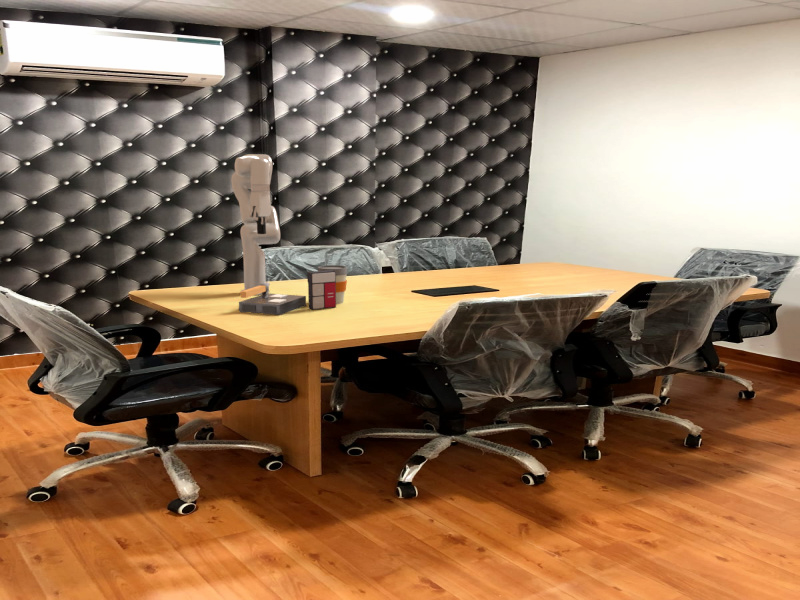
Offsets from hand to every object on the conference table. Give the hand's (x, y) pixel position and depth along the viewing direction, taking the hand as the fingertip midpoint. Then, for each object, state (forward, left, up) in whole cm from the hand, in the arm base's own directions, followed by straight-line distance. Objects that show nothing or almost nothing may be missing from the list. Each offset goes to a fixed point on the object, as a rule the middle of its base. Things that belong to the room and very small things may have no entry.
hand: (261, 233), depth 305 cm
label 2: (+15, +15, -25) cm, 33 cm away
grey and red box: (+3, +29, -29) cm, 41 cm away
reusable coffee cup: (-11, +27, -29) cm, 41 cm away
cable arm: (+12, +3, -23) cm, 26 cm away
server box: (+11, +11, -29) cm, 33 cm away
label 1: (+5, +10, -25) cm, 27 cm away
